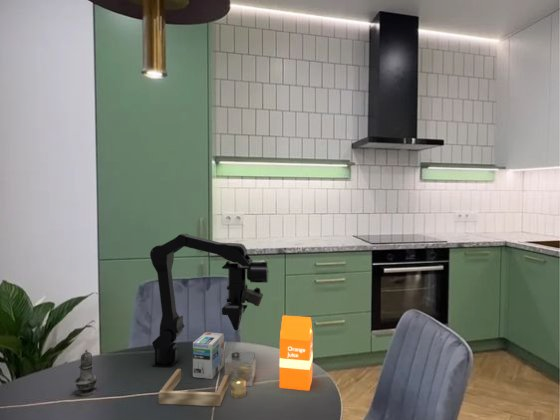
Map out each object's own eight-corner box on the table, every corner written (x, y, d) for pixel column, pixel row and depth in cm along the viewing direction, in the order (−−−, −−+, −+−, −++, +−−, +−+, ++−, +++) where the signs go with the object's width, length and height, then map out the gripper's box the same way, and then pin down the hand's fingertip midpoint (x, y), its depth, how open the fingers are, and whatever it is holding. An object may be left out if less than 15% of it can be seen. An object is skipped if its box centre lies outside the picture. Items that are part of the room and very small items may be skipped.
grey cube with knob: (224, 385, 112) (224, 358, 112) (229, 373, 120) (230, 348, 120) (252, 386, 111) (252, 359, 111) (256, 374, 119) (256, 349, 119)
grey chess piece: (102, 388, 109) (102, 347, 109) (85, 398, 104) (86, 354, 104) (86, 385, 111) (86, 344, 111) (69, 394, 106) (69, 351, 105)
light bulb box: (212, 379, 115) (212, 344, 115) (191, 377, 117) (191, 342, 117) (224, 365, 126) (224, 332, 126) (205, 363, 127) (205, 331, 127)
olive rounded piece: (229, 397, 105) (230, 383, 105) (232, 390, 109) (232, 376, 109) (244, 398, 104) (244, 383, 104) (246, 391, 108) (246, 377, 108)
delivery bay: (158, 403, 101) (158, 392, 101) (177, 378, 116) (177, 368, 116) (219, 406, 100) (219, 394, 100) (230, 380, 115) (230, 370, 115)
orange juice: (284, 376, 118) (284, 311, 118) (312, 378, 116) (313, 313, 116) (279, 387, 111) (279, 319, 110) (309, 391, 109) (309, 321, 109)
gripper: (257, 288, 116) (257, 339, 116) (264, 277, 134) (264, 321, 134) (221, 288, 116) (221, 338, 117) (233, 276, 135) (232, 320, 135)
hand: (236, 329), depth 126 cm, fingers closed
